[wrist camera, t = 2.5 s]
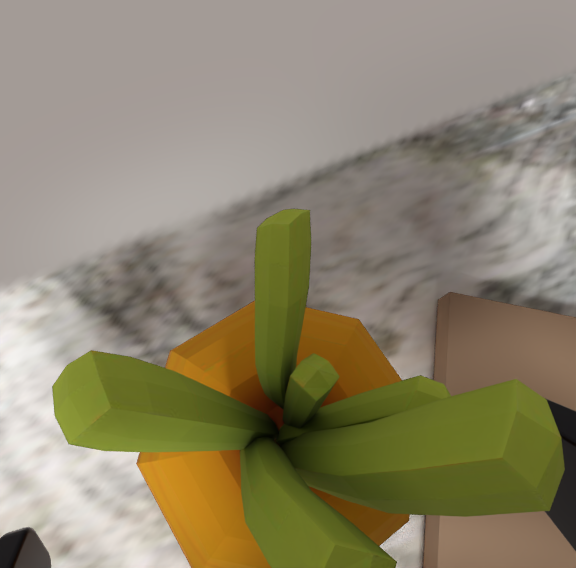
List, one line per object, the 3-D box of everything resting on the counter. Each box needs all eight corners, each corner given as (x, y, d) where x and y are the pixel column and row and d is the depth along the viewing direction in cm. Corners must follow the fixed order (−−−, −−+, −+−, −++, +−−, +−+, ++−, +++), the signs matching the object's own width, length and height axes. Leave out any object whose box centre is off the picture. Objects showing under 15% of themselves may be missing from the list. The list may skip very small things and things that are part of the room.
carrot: (167, 450, 16) (-264, 569, 2) (244, 344, 18) (264, 39, 4) (274, 529, 16) (548, 1287, 2) (342, 414, 18) (767, 347, 3)
